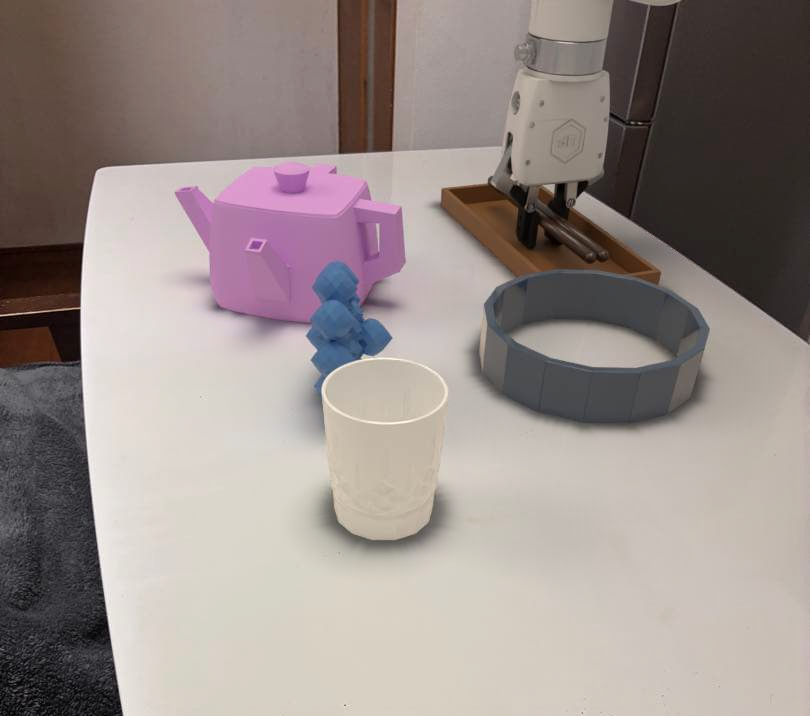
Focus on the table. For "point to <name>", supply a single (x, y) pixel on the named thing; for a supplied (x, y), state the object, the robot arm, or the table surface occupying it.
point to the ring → (579, 384)
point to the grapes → (341, 323)
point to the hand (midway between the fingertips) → (539, 241)
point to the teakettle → (292, 237)
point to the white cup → (384, 444)
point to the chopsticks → (564, 232)
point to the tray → (497, 232)
